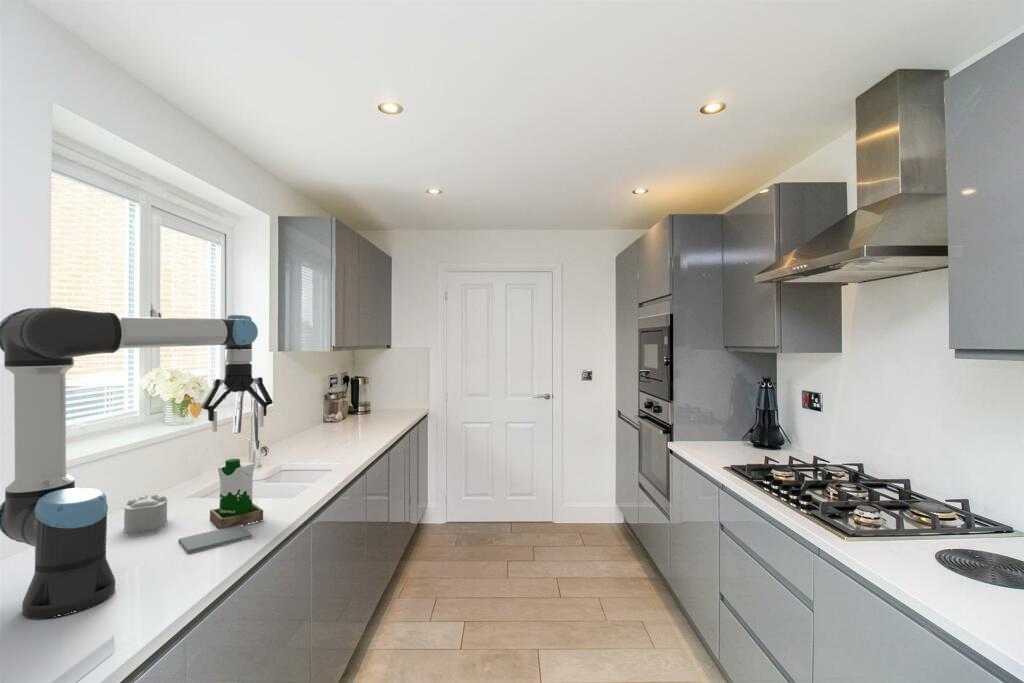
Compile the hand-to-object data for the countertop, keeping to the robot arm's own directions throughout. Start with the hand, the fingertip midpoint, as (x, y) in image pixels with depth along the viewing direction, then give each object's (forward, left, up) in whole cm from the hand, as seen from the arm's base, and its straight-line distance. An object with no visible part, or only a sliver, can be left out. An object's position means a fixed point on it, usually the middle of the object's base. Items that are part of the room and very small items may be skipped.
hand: (238, 428), depth 157 cm
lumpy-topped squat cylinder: (-21, +16, -30) cm, 40 cm away
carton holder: (0, 0, -30) cm, 30 cm away
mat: (-9, -13, -30) cm, 34 cm away
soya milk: (0, 0, -30) cm, 30 cm away
